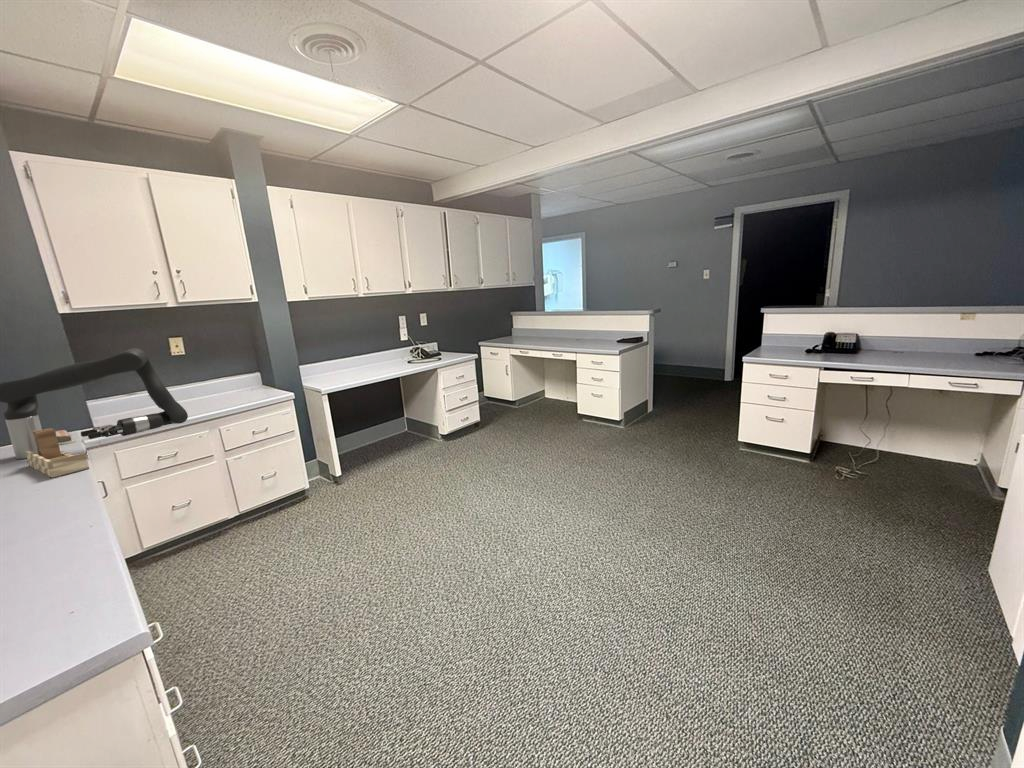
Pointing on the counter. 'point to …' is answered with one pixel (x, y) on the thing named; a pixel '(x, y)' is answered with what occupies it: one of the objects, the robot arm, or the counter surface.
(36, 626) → the counter surface
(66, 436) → the packaged product
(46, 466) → the box
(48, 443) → the walnut block
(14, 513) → the counter surface
